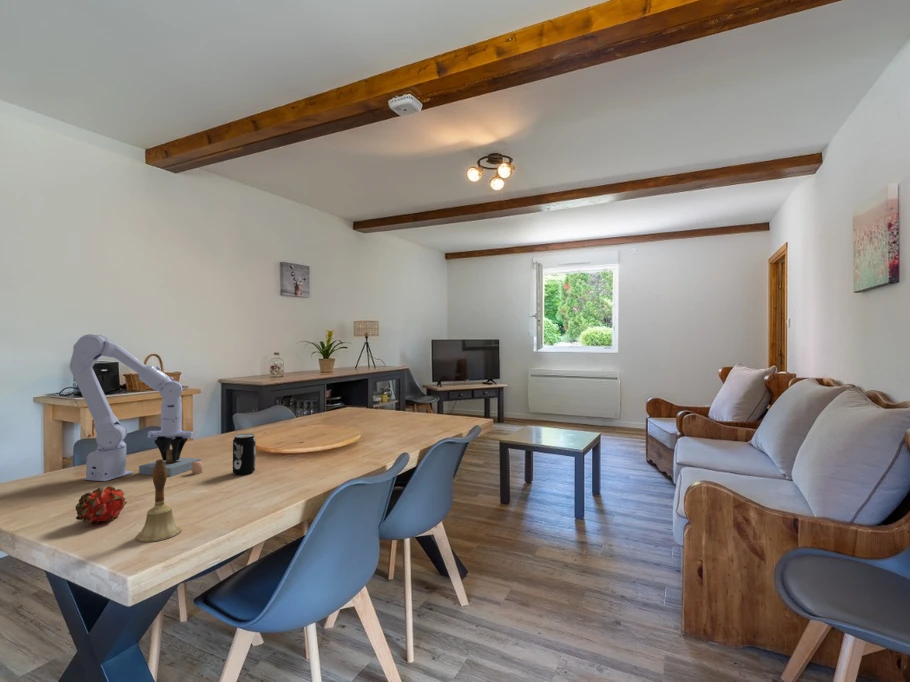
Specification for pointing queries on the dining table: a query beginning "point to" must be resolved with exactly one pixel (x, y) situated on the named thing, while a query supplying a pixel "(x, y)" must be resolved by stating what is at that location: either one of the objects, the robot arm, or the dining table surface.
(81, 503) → the dragon fruit
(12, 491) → the dining table surface
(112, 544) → the dining table surface
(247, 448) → the beverage can
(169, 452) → the long pin
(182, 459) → the hole block
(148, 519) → the hand bell
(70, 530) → the dining table surface
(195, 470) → the short pin
